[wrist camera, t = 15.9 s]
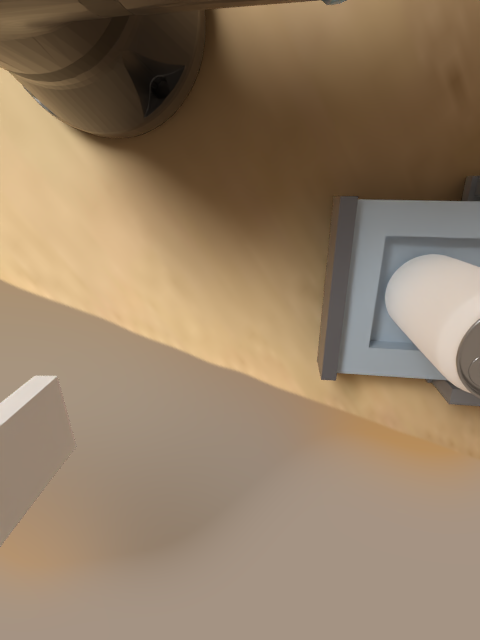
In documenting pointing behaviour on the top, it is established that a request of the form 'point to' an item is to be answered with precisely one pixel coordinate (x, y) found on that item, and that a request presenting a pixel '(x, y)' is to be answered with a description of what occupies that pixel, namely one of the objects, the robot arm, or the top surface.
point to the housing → (473, 191)
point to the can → (440, 314)
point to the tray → (383, 279)
